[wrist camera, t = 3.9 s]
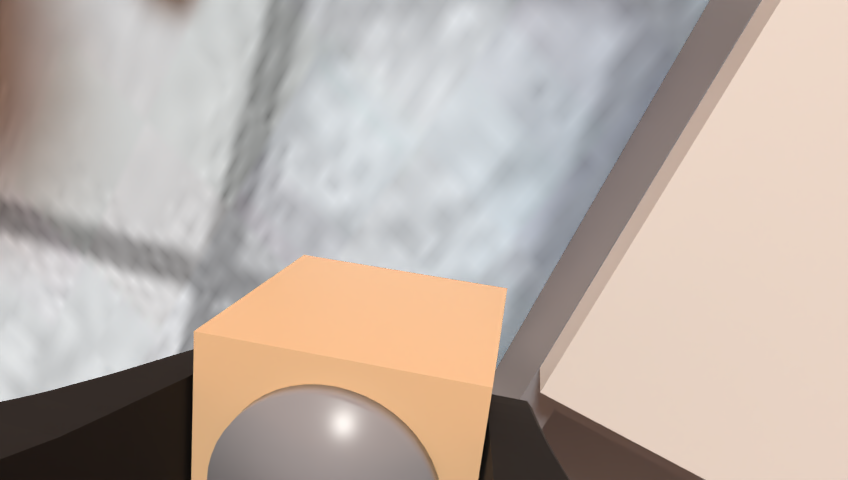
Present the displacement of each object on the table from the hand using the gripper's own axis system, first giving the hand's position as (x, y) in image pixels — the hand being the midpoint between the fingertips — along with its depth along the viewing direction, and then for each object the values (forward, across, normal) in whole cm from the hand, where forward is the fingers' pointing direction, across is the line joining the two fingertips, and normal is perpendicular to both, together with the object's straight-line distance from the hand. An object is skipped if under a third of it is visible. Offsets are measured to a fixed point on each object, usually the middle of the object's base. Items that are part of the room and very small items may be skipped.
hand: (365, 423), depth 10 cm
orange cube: (+2, 0, 0) cm, 2 cm away
